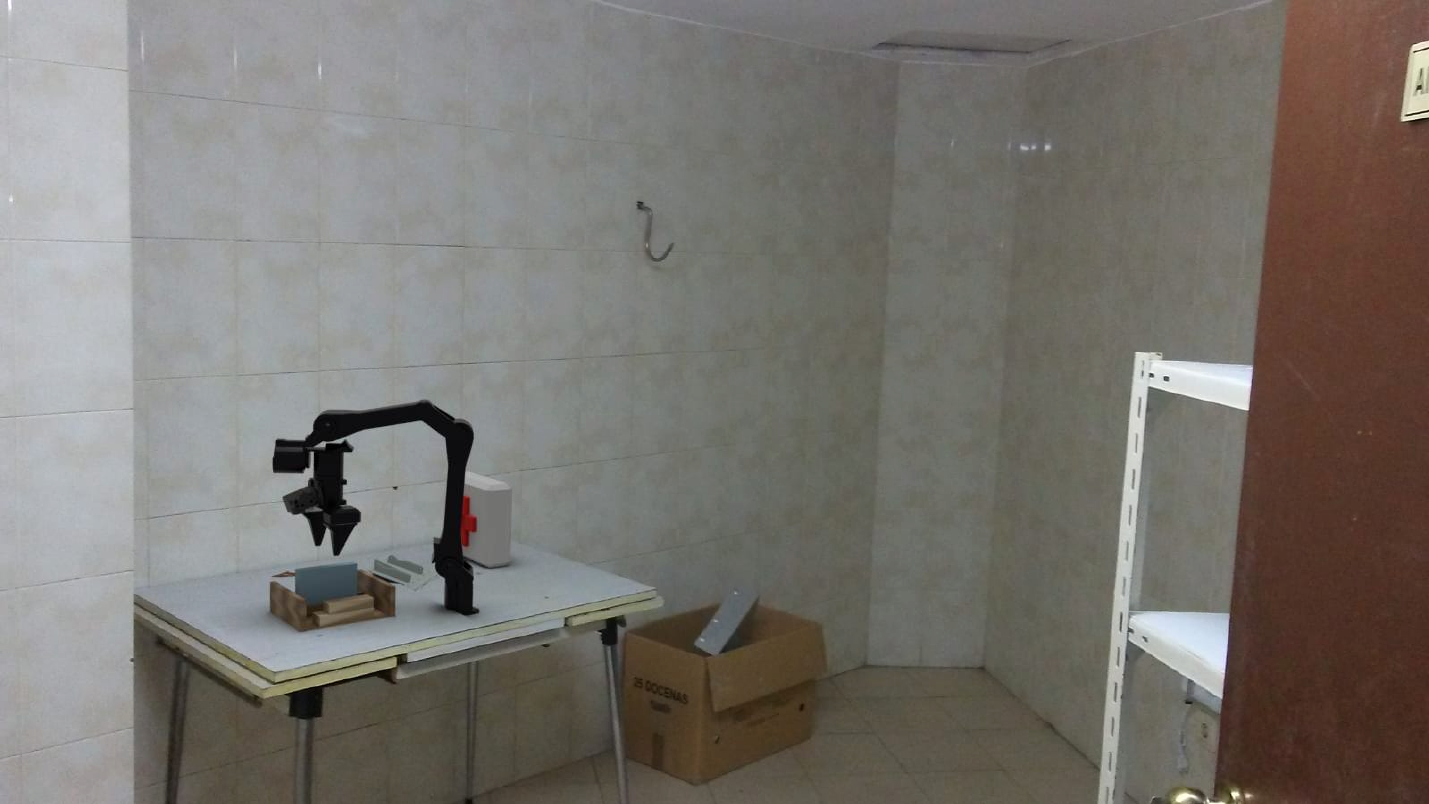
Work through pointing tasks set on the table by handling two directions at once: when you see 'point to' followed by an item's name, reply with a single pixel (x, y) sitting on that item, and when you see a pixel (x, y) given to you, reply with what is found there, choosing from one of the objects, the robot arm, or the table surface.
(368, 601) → the upper offcut
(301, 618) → the rack
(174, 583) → the table surface
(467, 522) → the bevelled white case
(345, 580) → the panel
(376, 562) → the metal bracket
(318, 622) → the lower offcut
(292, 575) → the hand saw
